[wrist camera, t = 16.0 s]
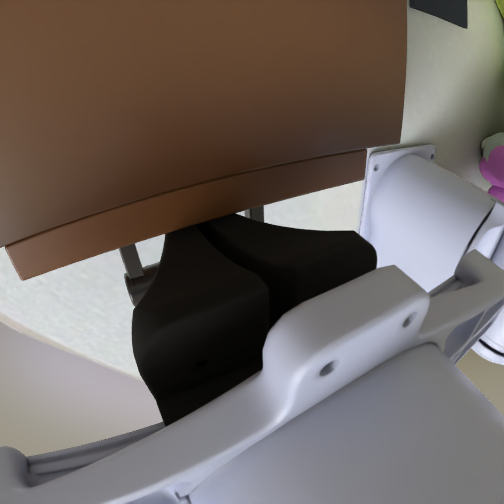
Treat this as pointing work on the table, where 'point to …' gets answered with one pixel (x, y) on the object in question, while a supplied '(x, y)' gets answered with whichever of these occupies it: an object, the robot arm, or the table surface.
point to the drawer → (178, 215)
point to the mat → (444, 10)
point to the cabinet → (183, 95)
